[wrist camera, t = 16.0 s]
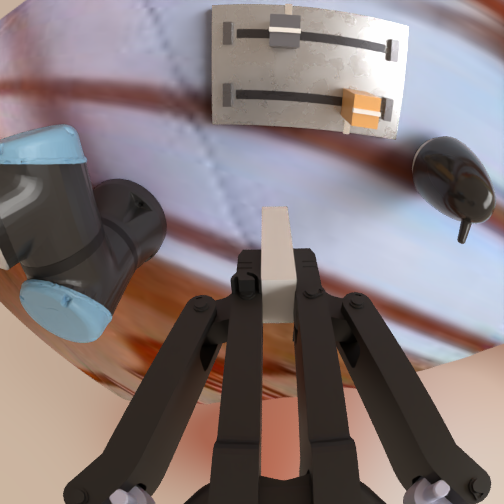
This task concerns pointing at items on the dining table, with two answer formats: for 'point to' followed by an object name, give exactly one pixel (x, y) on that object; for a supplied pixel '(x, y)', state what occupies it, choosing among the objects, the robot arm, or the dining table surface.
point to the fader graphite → (284, 31)
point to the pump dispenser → (454, 182)
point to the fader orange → (360, 108)
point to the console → (305, 68)
